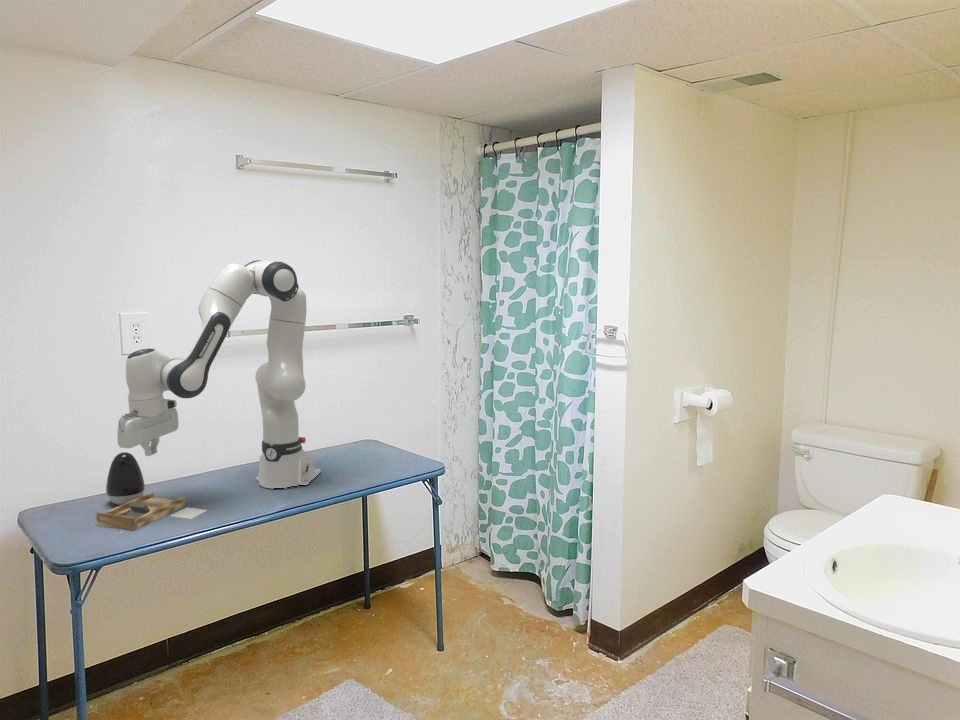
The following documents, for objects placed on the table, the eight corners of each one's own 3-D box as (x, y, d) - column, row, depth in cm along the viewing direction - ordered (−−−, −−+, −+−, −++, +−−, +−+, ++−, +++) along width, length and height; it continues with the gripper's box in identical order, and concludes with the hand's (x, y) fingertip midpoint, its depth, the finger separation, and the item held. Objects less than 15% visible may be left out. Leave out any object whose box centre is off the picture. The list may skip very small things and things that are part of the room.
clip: (134, 508, 195) (130, 502, 193) (149, 510, 194) (145, 504, 192) (124, 523, 191) (119, 517, 190) (139, 525, 190) (135, 519, 189)
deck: (151, 504, 206) (150, 489, 205) (186, 509, 203) (185, 494, 202) (97, 529, 187) (96, 513, 186) (134, 534, 184) (133, 518, 183)
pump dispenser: (103, 509, 201) (100, 458, 199) (111, 497, 211) (108, 448, 208) (142, 507, 204) (139, 456, 201) (148, 495, 214) (145, 446, 211)
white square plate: (186, 511, 201) (186, 507, 201) (207, 514, 199) (207, 510, 199) (169, 520, 194) (169, 515, 194) (191, 523, 192) (191, 518, 192)
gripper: (128, 416, 186) (133, 466, 188) (180, 399, 205) (184, 445, 207) (108, 415, 187) (114, 465, 190) (162, 398, 207) (166, 443, 209)
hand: (151, 454), depth 199 cm, fingers closed
